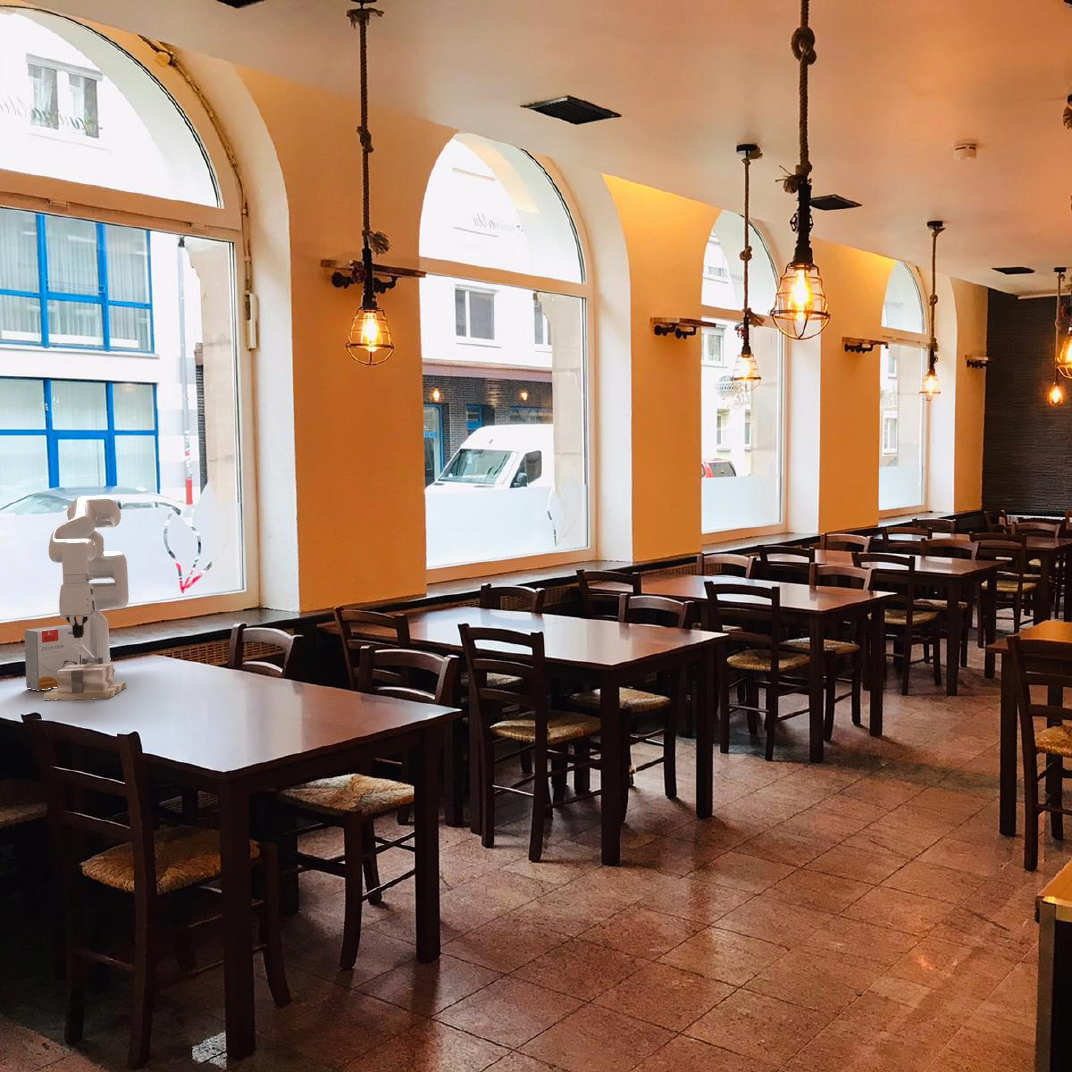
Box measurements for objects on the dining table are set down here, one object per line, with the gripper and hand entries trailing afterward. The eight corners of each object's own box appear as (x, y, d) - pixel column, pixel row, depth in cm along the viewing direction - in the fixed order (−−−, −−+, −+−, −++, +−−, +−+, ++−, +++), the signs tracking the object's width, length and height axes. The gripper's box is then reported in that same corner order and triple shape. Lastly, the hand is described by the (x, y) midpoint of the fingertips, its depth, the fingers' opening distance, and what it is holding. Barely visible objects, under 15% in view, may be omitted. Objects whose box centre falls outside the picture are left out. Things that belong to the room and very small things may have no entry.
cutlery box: (64, 689, 372) (62, 657, 371) (126, 687, 373) (124, 656, 372) (44, 700, 355) (42, 667, 354) (108, 698, 356) (107, 665, 355)
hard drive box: (38, 692, 368) (35, 631, 366) (25, 689, 372) (22, 629, 371) (82, 684, 380) (79, 625, 379) (69, 681, 385) (66, 623, 383)
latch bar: (87, 663, 370) (87, 659, 371) (98, 663, 371) (98, 659, 371) (71, 646, 356) (71, 643, 357) (82, 646, 357) (82, 642, 357)
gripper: (103, 578, 361) (106, 635, 362) (56, 579, 360) (58, 636, 361) (95, 580, 353) (98, 638, 354) (47, 581, 353) (49, 639, 354)
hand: (78, 637), depth 358 cm, fingers closed
